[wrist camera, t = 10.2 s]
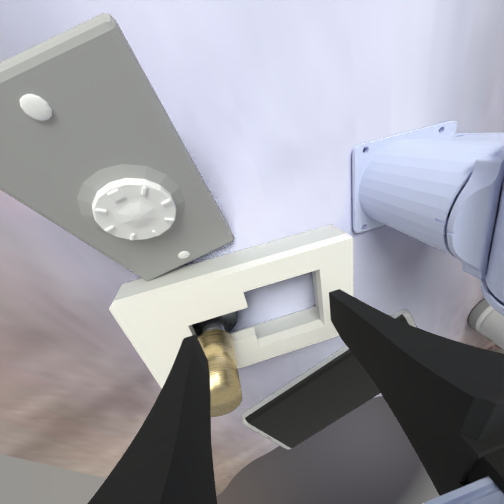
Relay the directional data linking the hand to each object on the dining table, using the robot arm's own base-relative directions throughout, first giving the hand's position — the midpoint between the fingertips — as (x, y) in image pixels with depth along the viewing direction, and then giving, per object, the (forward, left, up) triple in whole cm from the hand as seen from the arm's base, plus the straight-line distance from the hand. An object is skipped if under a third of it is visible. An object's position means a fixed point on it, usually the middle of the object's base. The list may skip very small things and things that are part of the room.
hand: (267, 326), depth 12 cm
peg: (+4, +6, -10) cm, 13 cm away
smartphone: (-9, +26, -11) cm, 30 cm away
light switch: (+5, -7, -11) cm, 14 cm away
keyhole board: (+1, +6, -10) cm, 12 cm away
